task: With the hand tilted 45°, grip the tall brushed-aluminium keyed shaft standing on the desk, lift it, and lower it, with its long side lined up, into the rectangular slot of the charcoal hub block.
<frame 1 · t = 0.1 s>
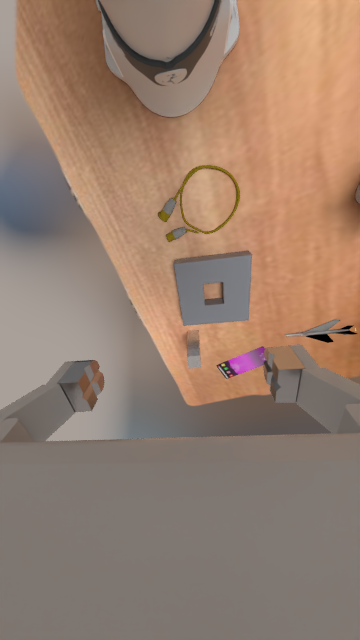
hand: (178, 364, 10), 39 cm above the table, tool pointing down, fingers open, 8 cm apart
smartphone: (243, 362, 64), on the table
hub block: (212, 288, 50), on the table
keyed shaft: (193, 336, 58), on the table
toy airplane: (324, 330, 56), on the table
extension cord: (197, 204, 41), on the table
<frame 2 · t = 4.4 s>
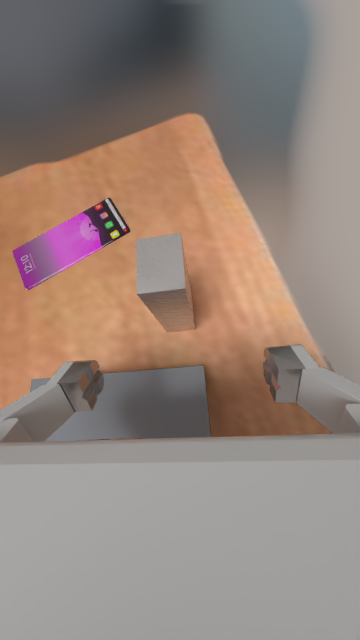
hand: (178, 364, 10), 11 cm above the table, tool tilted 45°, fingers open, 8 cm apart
smartphone: (73, 244, 28), on the table
hub block: (125, 464, 19), on the table
keyed shaft: (179, 313, 23), on the table
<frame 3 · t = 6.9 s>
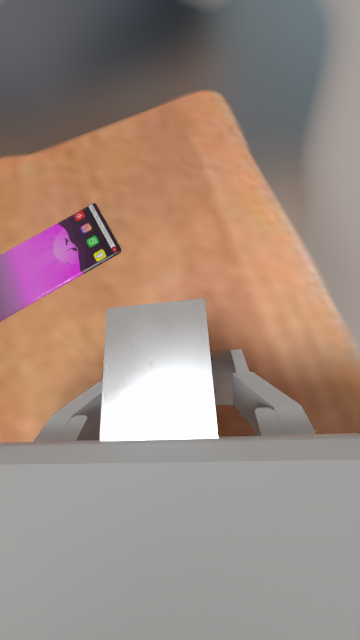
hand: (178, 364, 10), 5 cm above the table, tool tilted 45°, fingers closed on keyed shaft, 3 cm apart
smartphone: (44, 267, 21), on the table
keyed shaft: (190, 379, 15), on the table, touching gripper
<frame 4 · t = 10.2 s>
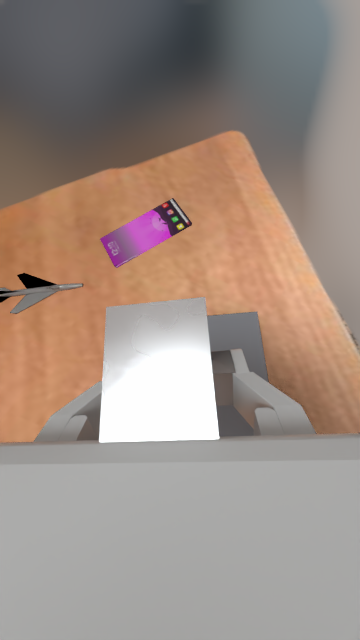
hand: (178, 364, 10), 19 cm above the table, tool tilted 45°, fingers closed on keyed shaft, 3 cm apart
smartphone: (146, 234, 37), on the table
hub block: (200, 380, 28), on the table
keyed shaft: (189, 379, 15), point 14 cm above the table, touching gripper
toy airplane: (30, 293, 37), on the table
when the fingers open (7 cm above the table, at t = 13.9 s): keyed shaft drops 1 cm, resting in hub block.
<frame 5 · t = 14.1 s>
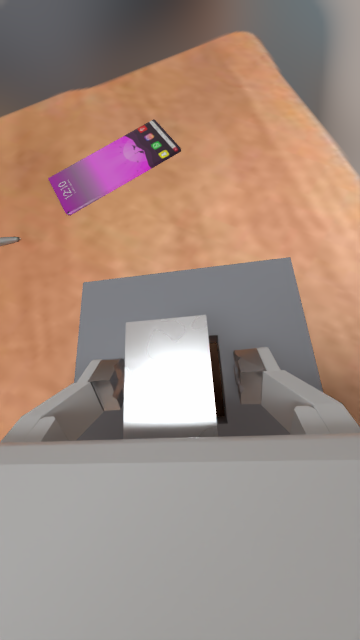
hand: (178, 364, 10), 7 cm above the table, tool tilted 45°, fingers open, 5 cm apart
smartphone: (115, 170, 25), on the table
hub block: (191, 379, 17), on the table
keyed shaft: (191, 379, 17), resting in hub block
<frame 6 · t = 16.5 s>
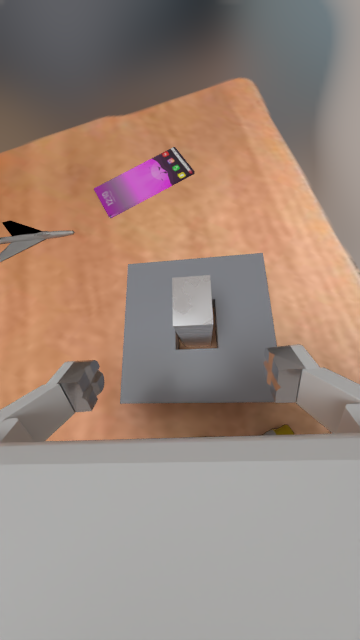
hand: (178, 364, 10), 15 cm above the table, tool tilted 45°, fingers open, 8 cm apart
smartphone: (144, 184, 34), on the table
hub block: (196, 330, 25), on the table
keyed shaft: (197, 330, 26), resting in hub block
toy airplane: (16, 242, 34), on the table
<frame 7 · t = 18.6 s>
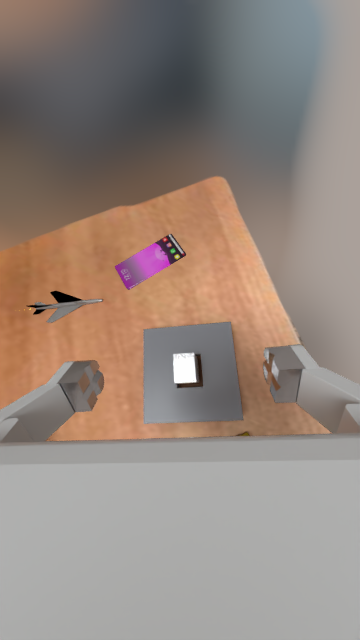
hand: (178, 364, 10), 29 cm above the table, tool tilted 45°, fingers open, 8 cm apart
smartphone: (150, 262, 47), on the table
hub block: (190, 371, 39), on the table
keyed shaft: (190, 371, 39), resting in hub block
toy airplane: (61, 306, 47), on the table
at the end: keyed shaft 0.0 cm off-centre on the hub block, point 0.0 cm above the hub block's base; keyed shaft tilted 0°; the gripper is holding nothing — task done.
